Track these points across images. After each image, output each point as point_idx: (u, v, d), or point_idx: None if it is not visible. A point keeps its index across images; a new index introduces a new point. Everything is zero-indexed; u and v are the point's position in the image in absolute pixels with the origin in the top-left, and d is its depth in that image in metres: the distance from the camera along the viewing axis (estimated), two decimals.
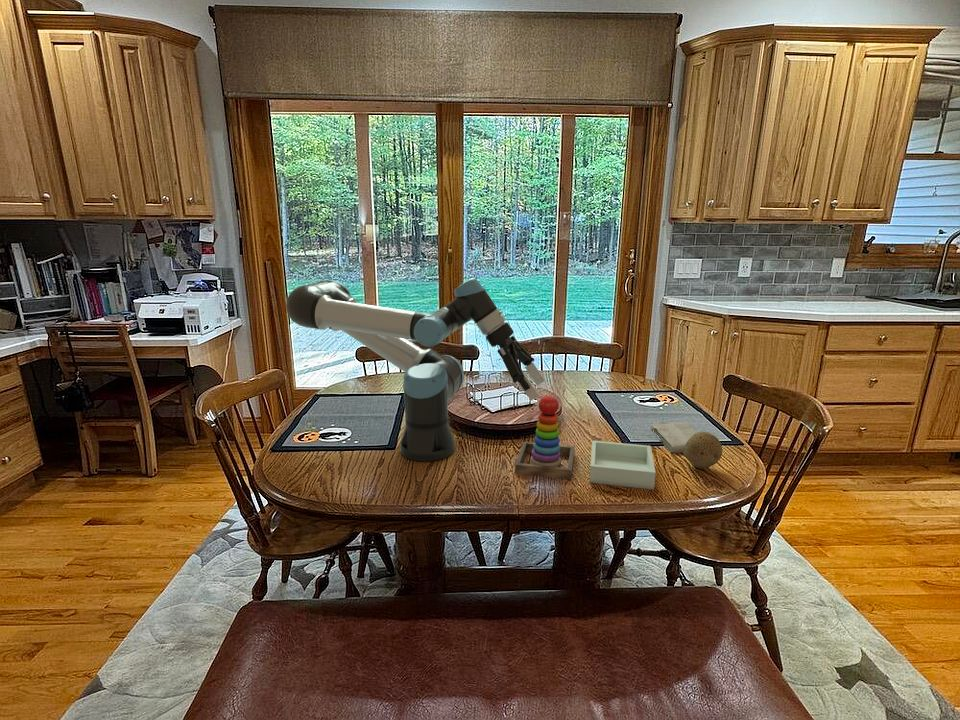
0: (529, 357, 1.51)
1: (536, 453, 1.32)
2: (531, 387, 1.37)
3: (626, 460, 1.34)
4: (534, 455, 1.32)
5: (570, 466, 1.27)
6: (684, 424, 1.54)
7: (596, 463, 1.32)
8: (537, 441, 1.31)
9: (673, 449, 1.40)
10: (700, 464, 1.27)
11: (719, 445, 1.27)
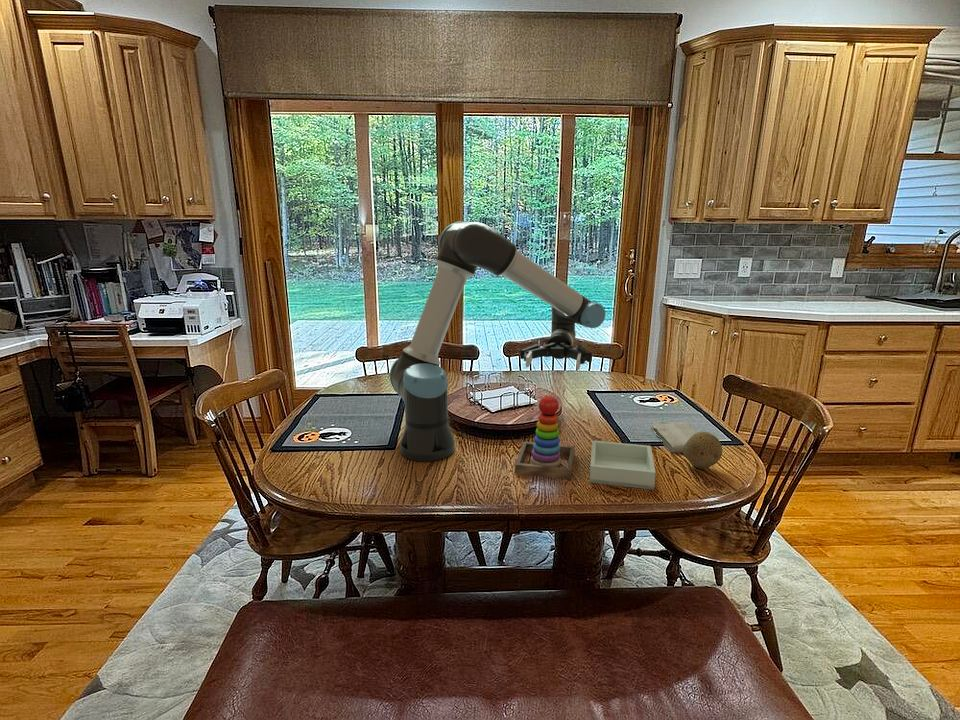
0: None
1: (536, 453, 1.32)
2: None
3: (626, 460, 1.34)
4: (534, 455, 1.32)
5: (570, 466, 1.27)
6: (684, 424, 1.54)
7: (596, 463, 1.32)
8: (537, 441, 1.31)
9: (673, 449, 1.40)
10: (700, 464, 1.27)
11: (719, 445, 1.27)
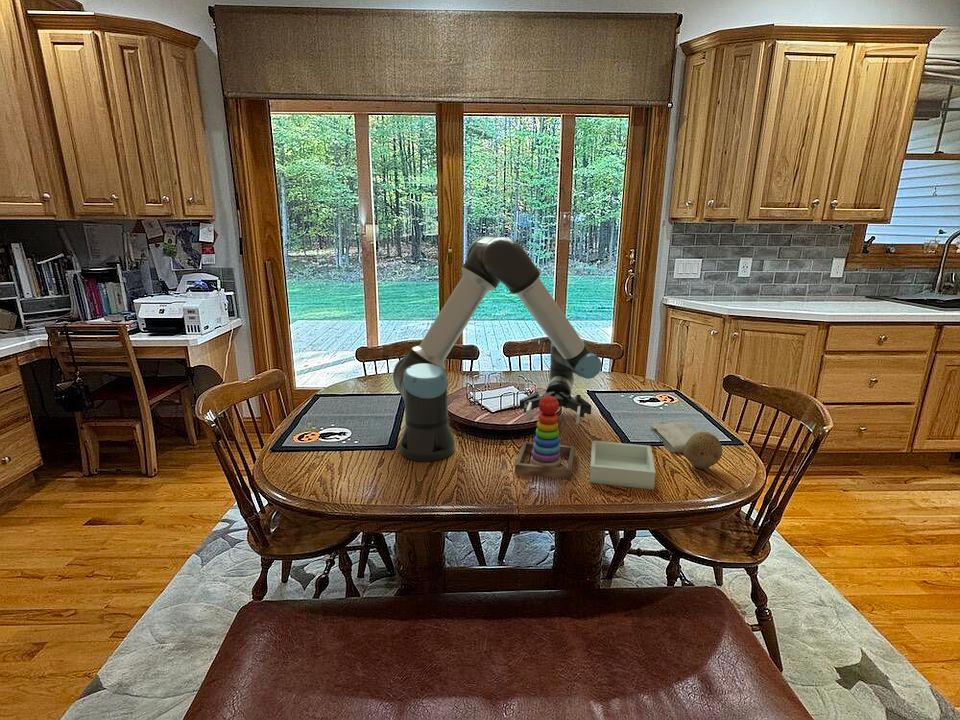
0: None
1: (536, 453, 1.32)
2: None
3: (626, 460, 1.34)
4: (534, 455, 1.32)
5: (570, 466, 1.27)
6: (684, 424, 1.54)
7: (596, 463, 1.32)
8: (537, 441, 1.31)
9: (673, 449, 1.40)
10: (700, 464, 1.27)
11: (719, 445, 1.27)
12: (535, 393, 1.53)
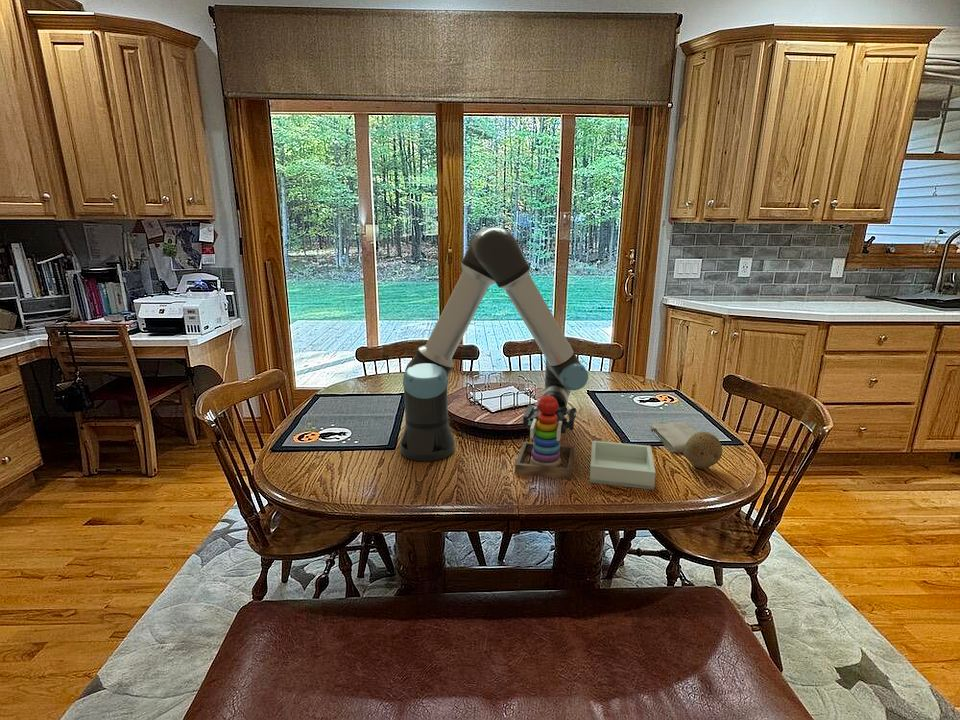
0: None
1: (536, 453, 1.32)
2: (560, 434, 1.29)
3: (626, 460, 1.34)
4: (534, 455, 1.32)
5: (570, 466, 1.27)
6: (683, 424, 1.54)
7: (596, 463, 1.32)
8: (537, 441, 1.31)
9: (674, 449, 1.40)
10: (700, 464, 1.27)
11: (719, 445, 1.27)
12: (530, 406, 1.42)
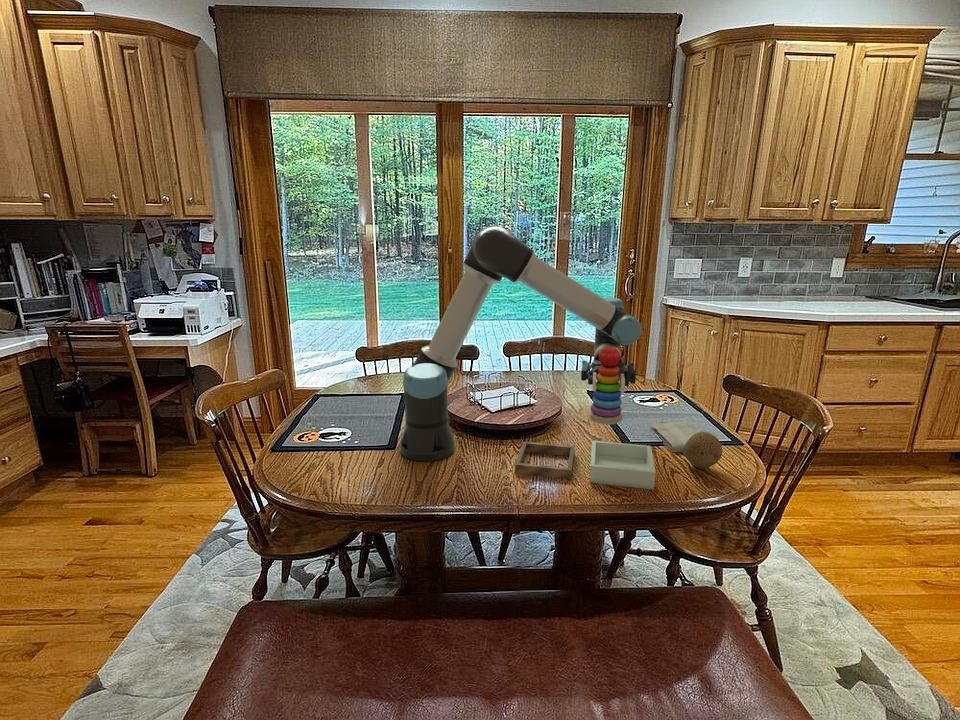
0: None
1: (597, 408, 1.25)
2: None
3: (626, 460, 1.34)
4: (594, 410, 1.25)
5: (570, 466, 1.27)
6: (683, 423, 1.54)
7: (596, 463, 1.32)
8: (598, 395, 1.25)
9: (674, 449, 1.40)
10: (700, 464, 1.27)
11: (719, 445, 1.27)
12: (585, 362, 1.36)
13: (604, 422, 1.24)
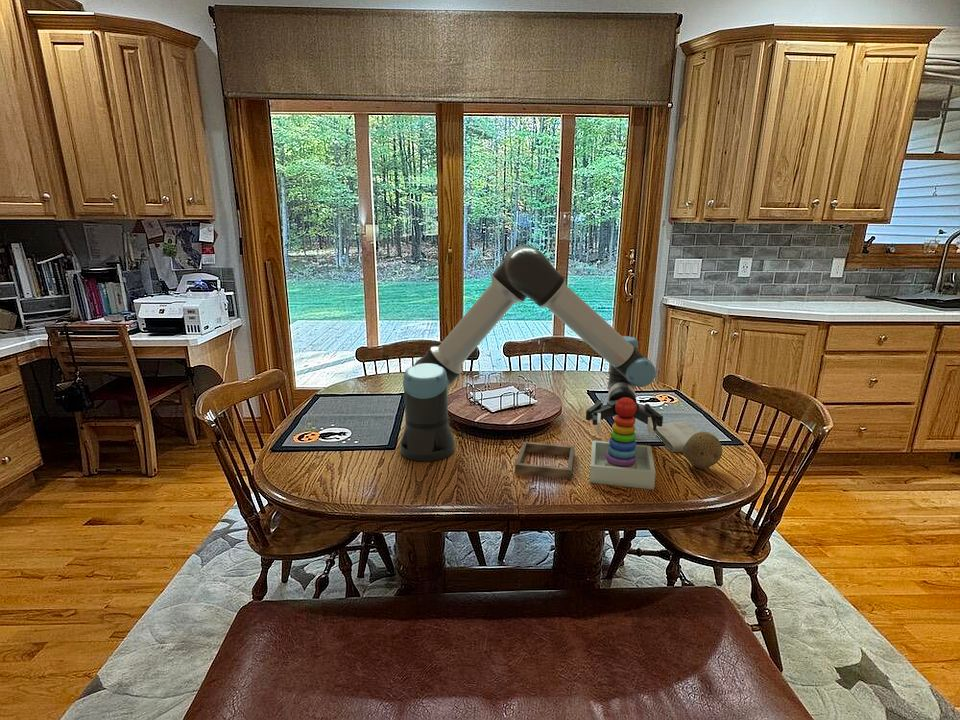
0: None
1: (612, 457, 1.27)
2: None
3: None
4: (610, 459, 1.27)
5: (570, 466, 1.27)
6: (683, 423, 1.54)
7: (596, 463, 1.32)
8: (613, 444, 1.26)
9: (674, 449, 1.40)
10: (700, 464, 1.27)
11: (719, 445, 1.27)
12: (598, 402, 1.38)
13: None
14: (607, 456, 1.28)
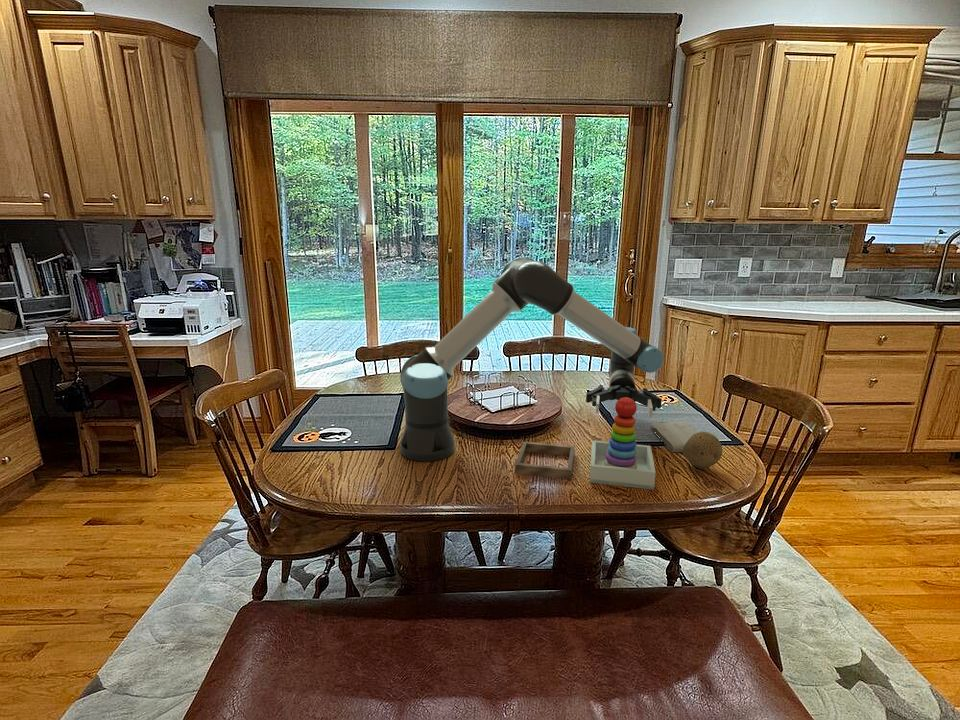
0: None
1: (612, 457, 1.27)
2: None
3: None
4: (610, 459, 1.27)
5: (570, 466, 1.27)
6: (683, 423, 1.54)
7: (596, 463, 1.32)
8: (613, 444, 1.26)
9: (674, 449, 1.40)
10: (700, 464, 1.27)
11: (719, 445, 1.27)
12: (600, 387, 1.50)
13: None
14: (607, 456, 1.28)
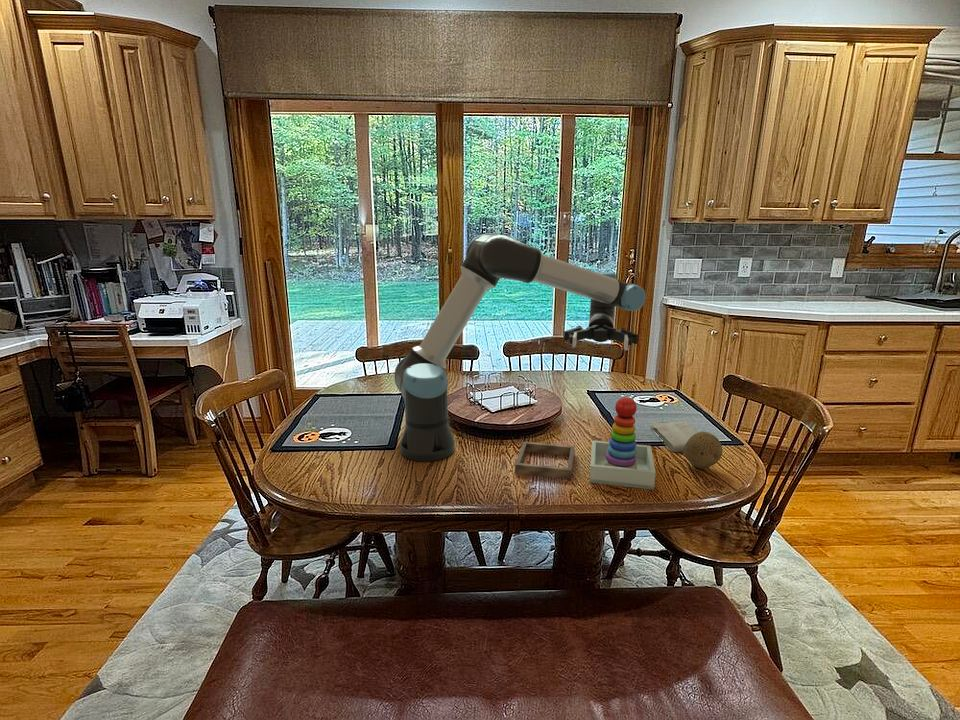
0: None
1: (612, 457, 1.27)
2: None
3: None
4: (610, 459, 1.27)
5: (570, 466, 1.27)
6: (684, 423, 1.54)
7: (596, 463, 1.32)
8: (613, 444, 1.26)
9: (674, 448, 1.40)
10: (700, 464, 1.27)
11: (719, 445, 1.27)
12: (578, 327, 1.50)
13: None
14: (607, 456, 1.28)
